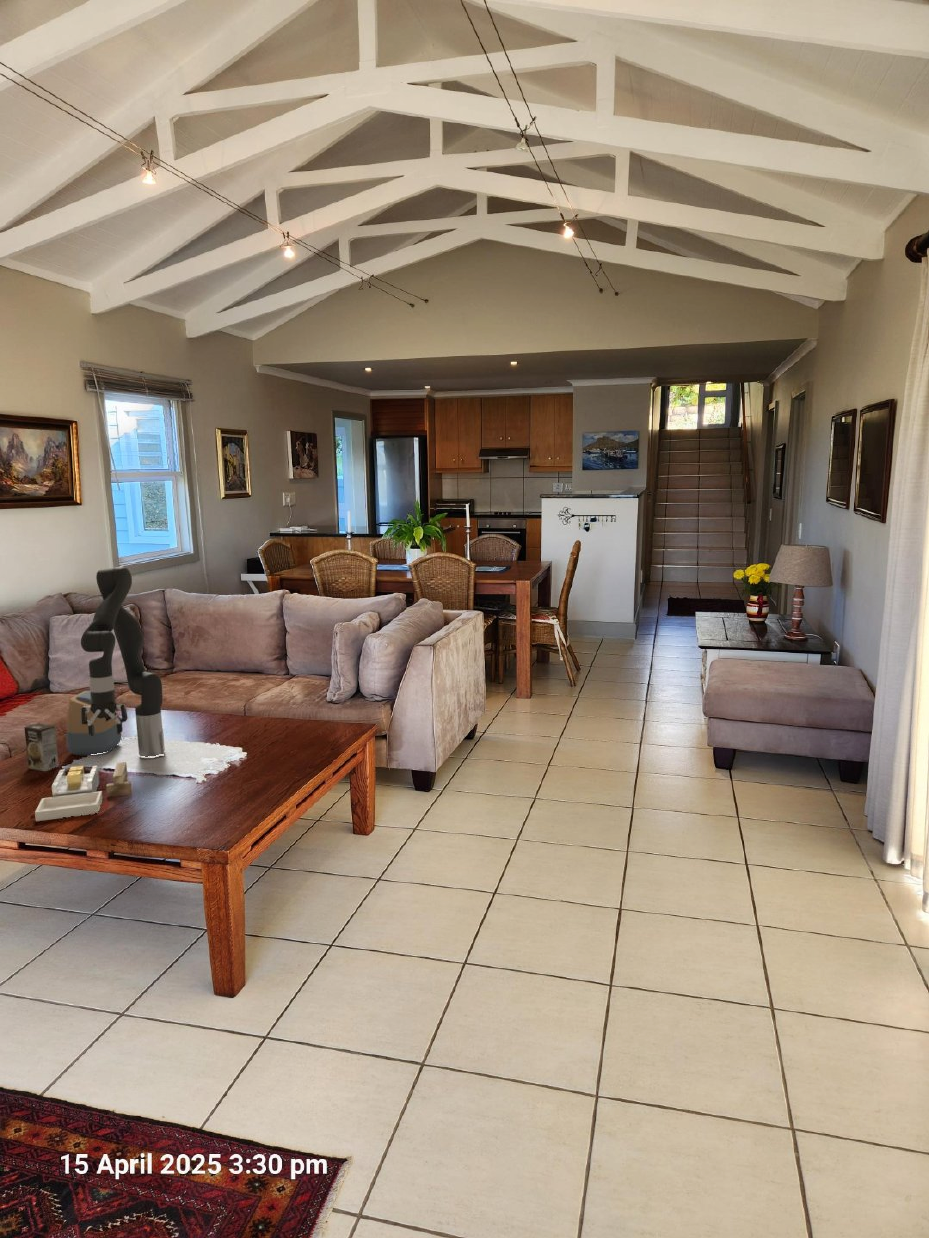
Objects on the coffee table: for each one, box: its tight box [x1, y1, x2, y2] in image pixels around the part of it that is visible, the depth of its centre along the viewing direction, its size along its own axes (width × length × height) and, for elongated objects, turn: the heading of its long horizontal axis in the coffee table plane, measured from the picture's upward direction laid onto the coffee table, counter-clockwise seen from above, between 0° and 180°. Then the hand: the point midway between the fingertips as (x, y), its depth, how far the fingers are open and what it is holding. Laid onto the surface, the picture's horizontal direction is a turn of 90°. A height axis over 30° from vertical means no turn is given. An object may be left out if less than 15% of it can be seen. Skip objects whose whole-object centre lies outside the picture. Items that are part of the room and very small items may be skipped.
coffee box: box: [23, 722, 60, 772], centre depth 298 cm, size 9×6×16 cm
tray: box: [34, 790, 104, 822], centre depth 258 cm, size 18×12×3 cm, turn 108°
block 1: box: [68, 765, 85, 781], centre depth 274 cm, size 4×4×4 cm
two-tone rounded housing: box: [65, 690, 122, 756], centre depth 316 cm, size 17×17×23 cm
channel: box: [51, 765, 100, 797], centre depth 272 cm, size 12×16×6 cm
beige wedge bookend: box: [106, 761, 133, 798], centre depth 276 cm, size 8×14×7 cm, turn 18°
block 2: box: [66, 771, 83, 787], centre depth 270 cm, size 4×4×4 cm
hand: (105, 734), depth 274 cm, fingers open, 8 cm apart
